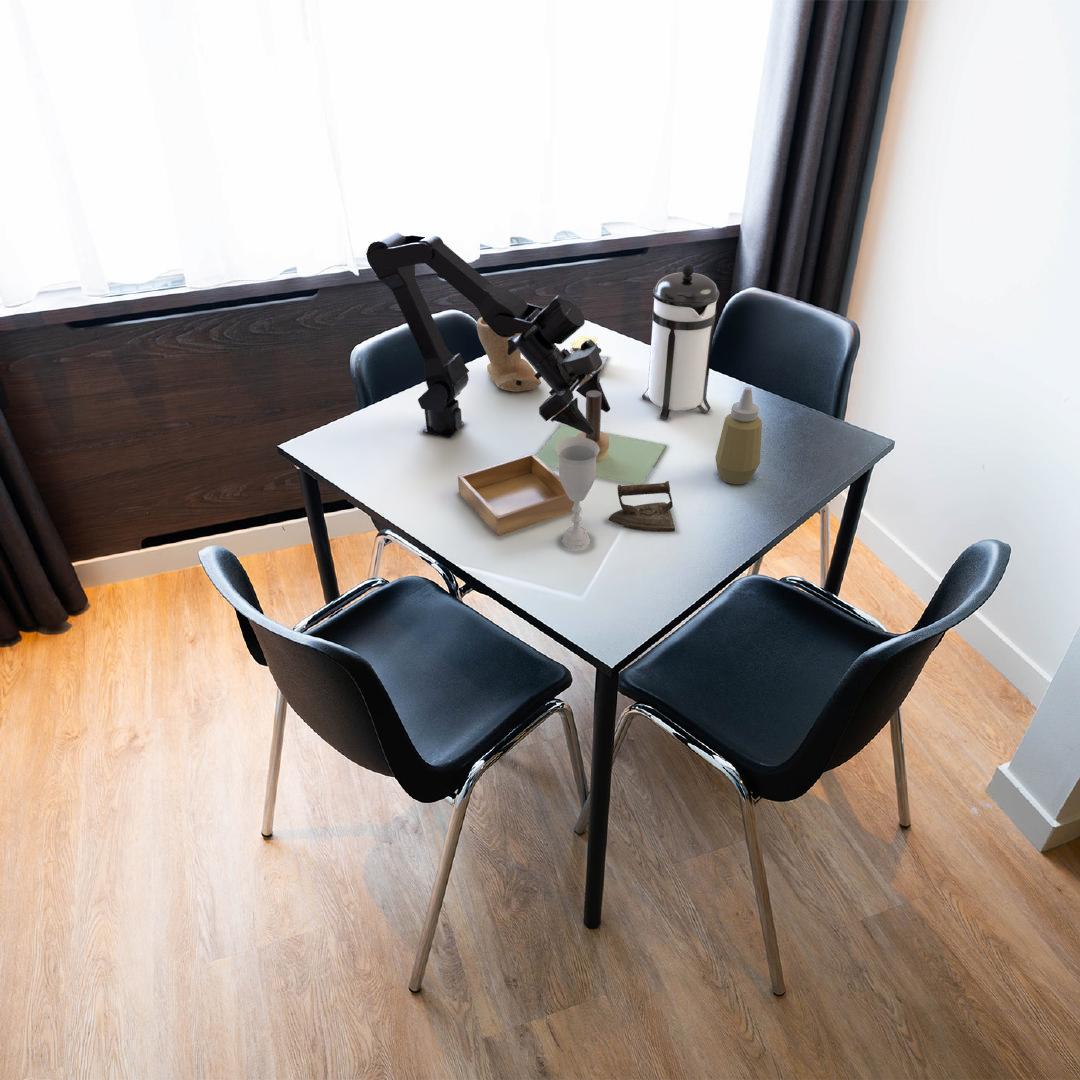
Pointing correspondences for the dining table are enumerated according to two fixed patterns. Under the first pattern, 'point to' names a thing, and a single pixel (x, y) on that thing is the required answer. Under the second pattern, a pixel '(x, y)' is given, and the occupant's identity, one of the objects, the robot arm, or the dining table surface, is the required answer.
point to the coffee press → (681, 341)
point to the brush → (595, 424)
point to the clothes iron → (645, 509)
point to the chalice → (577, 482)
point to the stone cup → (505, 362)
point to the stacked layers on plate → (578, 342)
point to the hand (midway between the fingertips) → (600, 421)
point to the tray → (515, 494)
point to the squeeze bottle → (740, 442)
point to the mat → (611, 456)
